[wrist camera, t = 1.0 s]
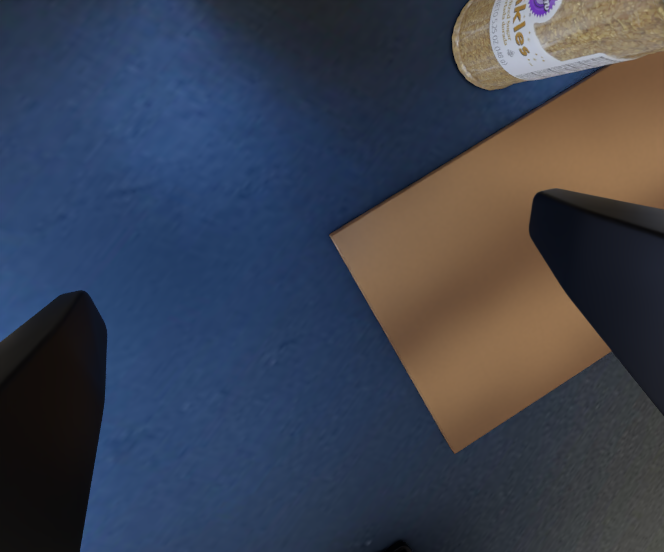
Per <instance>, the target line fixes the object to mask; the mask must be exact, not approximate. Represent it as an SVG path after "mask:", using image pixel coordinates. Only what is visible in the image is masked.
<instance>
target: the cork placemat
mask: <svg viewBox="0 0 664 552" xmlns="http://www.w3.org/2000/svg"><path fill="white" fill-rule="evenodd" d="M553 188H559V189H564V190H569V191H574V192H579V193H584V194H589V195H594V196H599V197H604V198H609V199H614V200H619V201H624V202H629V203H634V204H639V205H644V206H649V207H654V208H659V209H664V51H661V52H656V53H653V54H648V55H645V56H643V57H640V58H637V59H633V60H629V61H624V62H619V63H614V64H609V65H606V66H604V67H602V68H601V69H599V70H598V71H596V72H594V73H593V74H591V75H589V76H588V77H586V78H584V79H583V80H581V81H580V82H578V83H576V84H575V85H573V86H571V87H570V88H568V89H566V90H565V91H563V92H562V93H560V94H558V95H557V96H555V97H553V98H552V99H550V100H548V101H547V102H545V103H544V104H542V105H540V106H539V107H537V108H535V109H534V110H532V111H530V112H529V113H527V114H526V115H524V116H522V117H521V118H519V119H517V120H516V121H514V122H512V123H511V124H509V125H508V126H506V127H504V128H503V129H501V130H499V131H498V132H496V133H494V134H493V135H491V136H490V137H488V138H486V139H485V140H483V141H481V142H480V143H478V144H476V145H475V146H473V147H472V148H470V149H468V150H467V151H465V152H463V153H462V154H460V155H458V156H457V157H455V158H454V159H452V160H450V161H449V162H447V163H445V164H444V165H442V166H440V167H439V168H437V169H436V170H434V171H432V172H431V173H429V174H427V175H426V176H424V177H422V178H421V179H419V180H418V181H416V182H414V183H413V184H411V185H409V186H408V187H406V188H404V189H403V190H401V191H400V192H398V193H396V194H395V195H393V196H391V197H390V198H388V199H386V200H385V201H383V202H382V203H380V204H378V205H377V206H375V207H373V208H372V209H370V210H368V211H367V212H365V213H364V214H362V215H360V216H359V217H357V218H355V219H354V220H352V221H351V222H349V223H347V224H346V225H344V226H342V227H341V228H339V229H337V230H336V231H334V232H333V233H331V234H330V235H329V236H330V238H331V239H332V241H333V243H334V245H335V246H336V248H337V250H338V252H339V253H340V255H341V257H342V259H343V260H344V262H345V264H346V266H347V267H348V269H349V271H350V273H351V274H352V276H353V278H354V280H355V281H356V283H357V285H358V287H359V288H360V290H361V292H362V294H363V296H364V297H365V299H366V301H367V303H368V304H369V306H370V308H371V310H372V311H373V313H374V315H375V317H376V318H377V320H378V322H379V324H380V325H381V327H382V329H383V331H384V332H385V334H386V336H387V338H388V339H389V341H390V343H391V345H392V346H393V348H394V350H395V352H396V353H397V355H398V357H399V359H400V360H401V362H402V364H403V366H404V367H405V369H406V371H407V373H408V374H409V376H410V378H411V380H412V381H413V383H414V385H415V387H416V388H417V390H418V392H419V394H420V395H421V397H422V399H423V401H424V402H425V404H426V406H427V408H428V409H429V411H430V413H431V415H432V416H433V418H434V420H435V422H436V423H437V425H438V427H439V429H440V431H441V432H442V434H443V436H444V438H445V439H446V441H447V443H448V445H449V446H450V448H451V450H452V451H453V452H454V453H455V454H456V453H457V452H459V451H460V450H462V449H463V448H465V447H466V446H468V445H469V444H471V443H472V442H474V441H475V440H477V439H479V438H480V437H482V436H483V435H485V434H486V433H488V432H489V431H491V430H492V429H494V428H495V427H497V426H498V425H500V424H501V423H503V422H504V421H506V420H507V419H509V418H511V417H512V416H514V415H515V414H517V413H518V412H520V411H521V410H523V409H524V408H526V407H527V406H529V405H530V404H532V403H533V402H535V401H536V400H538V399H539V398H541V397H543V396H544V395H546V394H547V393H549V392H550V391H552V390H553V389H555V388H556V387H558V386H559V385H561V384H562V383H564V382H565V381H567V380H568V379H570V378H571V377H573V376H575V375H576V374H578V373H579V372H581V371H582V370H584V369H585V368H587V367H588V366H590V365H591V364H593V363H594V362H596V361H597V360H599V359H600V358H602V357H603V356H605V355H606V354H608V353H610V352H611V349H610V348H609V347H608V346H607V344H606V343H605V342H604V341H603V340H602V338H601V337H600V336H599V335H598V333H597V332H596V331H595V330H594V328H593V327H592V326H591V325H590V323H589V322H588V321H587V320H586V318H585V317H584V316H583V315H582V313H581V312H580V311H579V310H578V308H577V307H576V306H575V305H574V303H573V302H572V301H571V299H570V298H569V297H568V295H567V294H566V293H565V291H564V290H563V288H562V287H561V286H560V284H559V283H558V281H557V279H556V278H555V276H554V275H553V273H552V271H551V270H550V268H549V267H548V265H547V263H546V262H545V260H544V259H543V257H542V255H541V254H540V252H539V251H538V249H537V248H536V246H535V244H534V243H533V241H532V240H531V238H530V235H529V221H530V214H531V208H532V201H533V198H534V196H535V194H536V193H537V192H539V191H543V190H548V189H553Z"/></svg>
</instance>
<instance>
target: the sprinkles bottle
mask: <svg viewBox="0 0 664 552" xmlns="http://www.w3.org/2000/svg"><path fill="white" fill-rule="evenodd" d="M452 50H453V54H454V58H455V61H456V63H457V66H458V69H459V71H460V72H461V73H462V74H463V75H464V76H465V78H466V79H467V80H468V81H469V82H471V83H473V84H474V85H475V86H478V87H480V88H483V89H487V90H494V89H502V88H505V87H507V86H510V85H512V84H514V83H519V82H523V81H528V80H539V79H544V78H548V77H553V76H557V75H562V74H567V73H571V72H576V71H581V70H585V69H590V68H594V67H599V66H604V65H609V64H614V63H619V62H624V61H629V60H633V59H637V58H640V57H643V56H645V55H648V54H653V53H656V52H661V51H664V0H469V2H468V3H467V4H466V5H465V6H464V8H463V9H462V11H461V13H460V16H459V17H458V18H457V22H456V24H455V26H454V31H453V35H452Z"/></svg>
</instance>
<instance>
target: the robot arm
mask: <svg viewBox="0 0 664 552" xmlns="http://www.w3.org/2000/svg"><path fill="white" fill-rule="evenodd" d="M529 235H530V238H531V240H532V241H533V243H534V244H535V246H536V248H537V249H538V251H539V252H540V254H541V255H542V257H543V259H544V260H545V262H546V263H547V265H548V267H549V268H550V270H551V271H552V273H553V275H554V276H555V278H556V279H557V281H558V283H559V284H560V286H561V287H562V288H563V290H564V291H565V293H566V294H567V295H568V297H569V298H570V299H571V301H572V302H573V303H574V305H575V306H576V307H577V308H578V310H579V311H580V312H581V313H582V315H583V316H584V317H585V318H586V320H587V321H588V322H589V323H590V325H591V326H592V327H593V328H594V330H595V331H596V332H597V333H598V335H599V336H600V337H601V338H602V340H603V341H604V342H605V343H606V344H607V346H608V347H609V348H610V349H611V351H612V352H613V353H614V354H615V356H616V357H617V358H618V359H619V361H620V362H621V363H622V364H623V366H624V367H625V368H626V369H627V371H628V372H629V373H630V374H631V376H632V377H633V378H634V379H635V381H636V382H637V383H638V384H639V386H640V387H641V388H642V389H643V391H644V392H645V393H646V394H647V396H648V397H649V398H650V399H651V401H652V402H653V403H654V404H655V406H656V407H657V408H658V409H659V411H660V412H661V413H662V414H663V416H664V209H659V208H654V207H649V206H644V205H639V204H634V203H629V202H624V201H619V200H614V199H609V198H604V197H599V196H594V195H589V194H584V193H579V192H574V191H569V190H564V189H559V188H553V189H548V190H543V191H539V192H537V193H536V194H535V196H534V198H533V201H532V208H531V214H530V221H529ZM106 353H107V329H106V325H105V323H104V321H103V319H102V317H101V315H100V313H99V312H98V310H97V308H96V306H95V304H94V303H93V301H92V299H91V297H90V296H89V294H88V293H87V292H85V291H83V290H80V291H75V292H70V293H65V294H62V295H60V296H58V297H57V298H56V299H54V300H53V301H52V302H51V303H49V304H48V305H47V306H46V307H44V308H43V309H42V310H41V311H39V312H38V313H37V314H36V315H34V316H33V317H32V318H30V319H29V320H28V321H27V322H25V323H24V324H23V325H22V326H20V327H19V328H18V329H17V330H15V331H14V332H13V333H12V334H10V335H9V336H8V337H6V338H5V339H4V340H3V341H1V342H0V552H80V547H81V541H82V535H83V529H84V523H85V517H86V511H87V505H88V499H89V493H90V487H91V481H92V475H93V469H94V463H95V457H96V452H97V446H98V440H99V434H100V428H101V422H102V416H103V409H104V400H105V381H106ZM400 550H401V551H400ZM384 552H412V550H411V549H410V547H409V546H408V545H407V543H406V542H404V541H400V542H398V543H396V544H394V545H393V546H391V547H390V548H388V549H387V550H385V551H384Z"/></svg>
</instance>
